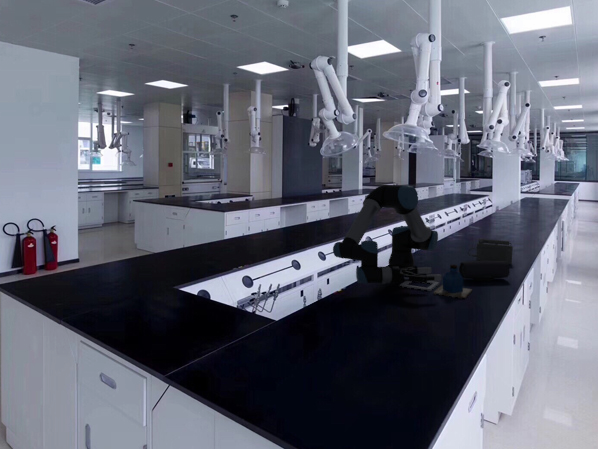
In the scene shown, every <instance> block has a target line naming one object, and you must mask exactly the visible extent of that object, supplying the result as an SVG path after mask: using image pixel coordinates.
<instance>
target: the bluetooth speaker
mask: <svg viewBox="0 0 598 449" xmlns="http://www.w3.org/2000/svg"><path fill="white" fill-rule="evenodd" d="M458 270H459V271H458V272H459V273H460V274H461V275H462V277H463V279H468V280H470V279H471V280H473V281H478V282H479V281H480V282H481V281H482V282H485V281H494V280H495V279H505V278H508V277H510V273H511V272H510V264H508V263H507V262H505V261H476V260H473V261H471V260H470V261H462V262H460V264H459V267H458Z"/></svg>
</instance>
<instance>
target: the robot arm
mask: <svg viewBox="0 0 598 449" xmlns="http://www.w3.org/2000/svg"><path fill="white" fill-rule="evenodd" d="M418 195H419V194H418V191H417V189H416V188H415V187H414V186H413V185H407V184H399V185H398V184H383V185H379V186H377V187H376V188H374V189H373V190H371V191H370V192H369V193H368V194H367V196H366V197H365V198H364V200H363V201H362V207H361V209H360V210H359V212H358V214H357V216H356V217H355V219H354V221H353V223H352V224H351V226H350V228H349V230H348V231H347V233H346V234H345V236H344V238H343V239H342V241H337V242H335V243H334V244H333V247H332V254H333V255H334V257H336V258H339V259H345V260H353V261H360V266H358V267H356V271H355V277H356V282H357V283H358V284H383V285H385V284H389V283H392V284H395V283H396V284H398V283H400V281H401V279H403V281H404V282H405V281H415V282H414V283H420V282H425V283H424V284H427V281H434V282H441V281H442V274H432V267H418V266H417V265H415V258H414V255H413V250H419V251H427V252H429V251H430V252H432V251H435V250H436V248H437V246H438V241H439V233H438V231H437V230H432V228H431V227H430V226H429V225H428V224H425V222H424V219H423V218H422V216H421V214H420V212H419V209H417V206H418V203H419V196H418ZM383 208H387V209H388V208H389V209H394V211H395V212H396V213H397V214H398V215H401V217H402V219H403V221H404V223H405V225H402V226H396V227H393V228H392V231H391V232H392V233H391V252H390V256H389V258H388V266H378V260H379V258H378V257H379V244H378V242H377V241H376V240H363V238H364V235H365V233H366V232H367V230H368V228H369V226H370V225H371V223H372V221H373V219H374V218H375V216H376V213H380V211H381V209H383ZM425 274H426V275H425Z"/></svg>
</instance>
